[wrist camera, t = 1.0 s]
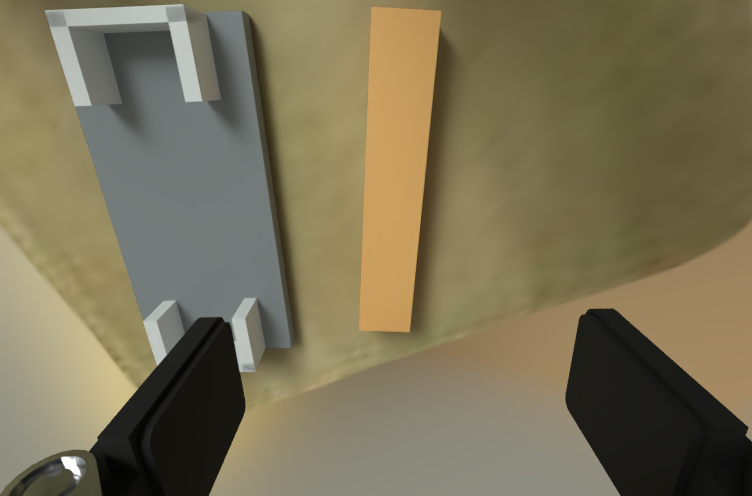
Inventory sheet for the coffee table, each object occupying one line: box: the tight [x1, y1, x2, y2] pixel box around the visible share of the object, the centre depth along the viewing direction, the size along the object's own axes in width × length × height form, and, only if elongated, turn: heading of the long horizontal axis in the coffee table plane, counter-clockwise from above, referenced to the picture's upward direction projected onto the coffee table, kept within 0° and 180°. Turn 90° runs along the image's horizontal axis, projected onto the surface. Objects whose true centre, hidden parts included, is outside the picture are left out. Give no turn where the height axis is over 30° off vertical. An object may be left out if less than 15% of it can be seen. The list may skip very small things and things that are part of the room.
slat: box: [359, 7, 441, 332], centre depth 28 cm, size 22×4×4 cm, turn 177°
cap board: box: [44, 4, 295, 372], centre depth 28 cm, size 25×12×4 cm, turn 2°
